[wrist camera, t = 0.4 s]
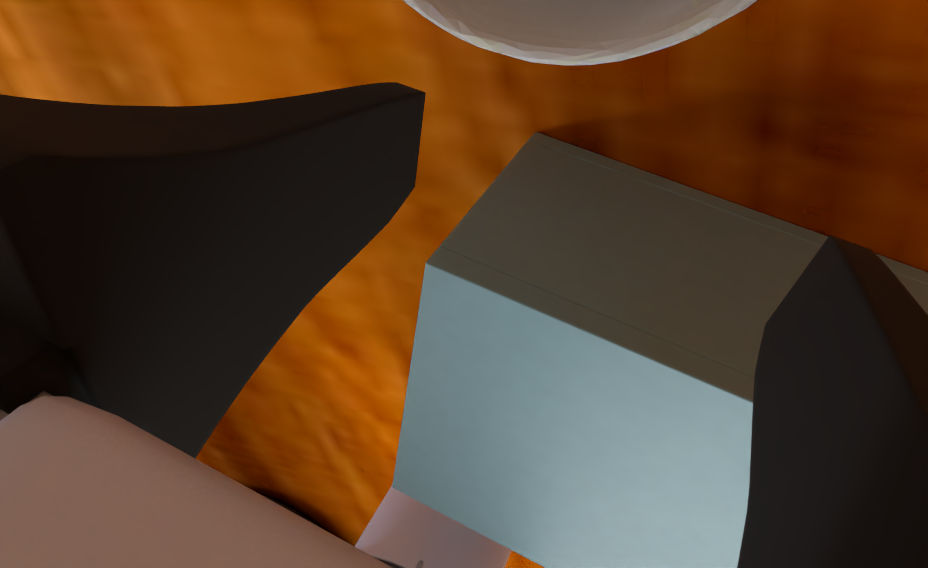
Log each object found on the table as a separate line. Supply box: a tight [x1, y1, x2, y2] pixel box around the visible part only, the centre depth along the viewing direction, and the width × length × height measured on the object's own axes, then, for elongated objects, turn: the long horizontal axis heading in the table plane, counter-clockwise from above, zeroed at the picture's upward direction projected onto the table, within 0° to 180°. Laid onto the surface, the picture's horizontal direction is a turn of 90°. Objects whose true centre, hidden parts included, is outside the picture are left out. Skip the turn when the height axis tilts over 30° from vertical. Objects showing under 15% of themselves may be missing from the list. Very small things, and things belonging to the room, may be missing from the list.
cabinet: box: [392, 132, 928, 568], centre depth 20 cm, size 14×12×9 cm
